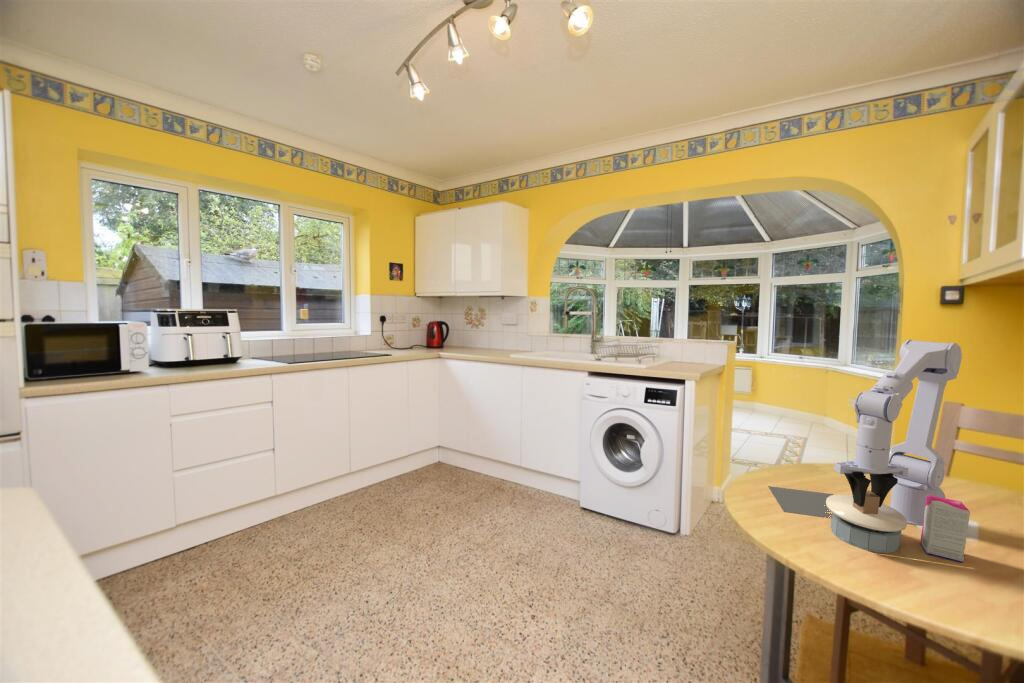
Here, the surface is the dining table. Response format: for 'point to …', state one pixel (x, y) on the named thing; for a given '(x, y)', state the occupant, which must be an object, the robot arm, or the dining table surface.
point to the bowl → (865, 536)
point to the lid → (867, 512)
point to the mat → (802, 501)
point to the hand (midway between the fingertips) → (867, 504)
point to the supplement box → (945, 528)
